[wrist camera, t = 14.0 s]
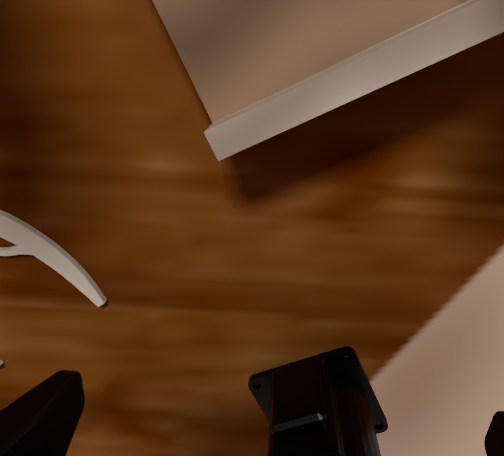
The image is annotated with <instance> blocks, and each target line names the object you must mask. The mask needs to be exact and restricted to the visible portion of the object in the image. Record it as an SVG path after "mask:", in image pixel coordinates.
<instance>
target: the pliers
mask: <svg viewBox="0 0 504 456" xmlns="http://www.w3.org/2000/svg"><path fill="white" fill-rule="evenodd" d="M0 237H1V238H3V239H5V240H7V241H9V242H11V243H13V244H15V245H14V246H12V247H0V256H13V255H20V254H26V255H34V256H35V257H37V258H38V259H40V260H41V261H42V262H44V263H45V264H47V265H48V266H50V267H51V268H53V269H54V270H55V271H57V272H58V273H60V274H61V275H62V276H63V277H64V278H66V279H67V280H68V281H69V282H70V283H72V284H73V285H74V286H75V287H76V288H77V289H79V290H80V291H81V292H82V293H83V294H85V295H86V296H87V297H88V298H89V299H90V300H91V301H92V302H93V303H94V304H95V305H96V306H98V307H99V306H101V305H103V304H104V303H105V302H106V301H107V299H106V298H105V296H104V295H103V293H102V292H101V290H100V289H99V287H98V286H97V285H96V283H95V282H94V281H93V279H92V278H91V277H90V276H89V274H88V273H87V272H86V271H85V270H84V269H83V268H82V267H81V265H80V264H79V263H78V262H77V261H76V260H75V259H74V258H73V257H72V256H70V255H69V254H68V253H67V252H66V251H65V250H64V249H63V248H62V247H60V246H59V245H58V244H57V243H55V242H54V241H53V240H51V239H50V238H48V237H47V236H46V235H44V234H43V233H41V232H40V231H38V230H37V229H35V228H34V227H32V226H31V225H29V224H28V223H26V222H24V221H22V220H20V219H18V218H17V217H15V216H13V215H11V214H9V213H7V212H4V211H2V210H0ZM2 363H3V362H2V360H1V359H0V366H1V364H2Z"/></svg>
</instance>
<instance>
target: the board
mask: <svg viewBox="0 0 504 456" xmlns="http://www.w3.org/2000/svg"><path fill="white" fill-rule="evenodd" d="M152 1H153V3H154V5H155V7H156V9H157V11H158V13H159V15H160V17H161V19H162V21H163V23H164V25H165V27H166V29H167V31H168V33H169V35H170V38H171V40H172V42H173V44H174V46H175V48H176V50H177V52H178V54H179V56H180V58H181V60H182V62H183V64H184V66H185V68H186V70H187V72H188V74H189V76H190V78H191V80H192V82H193V84H194V86H195V88H196V90H197V92H198V94H199V96H200V99H201V101H202V103H203V105H204V107H205V109H206V111H207V113H208V115H209V117H210V119H211V121H212V124H211V125H210V126H209V127H208V128H207V129H206V130H205V131H204V134H205V136H206V138H207V140H208V142H209V144H210V146H211V147H212V149H213V151H214V153H215V155H216V157H217V159H218V161H220V160H222V159H224V158H226V157H229V156H231V155H233V154H235V153H237V152H240V151H242V150H244V149H246V148H249V147H251V146H253V145H255V144H257V143H260V142H262V141H264V140H266V139H268V138H271V137H273V136H275V135H277V134H279V133H282V132H284V131H286V130H288V129H290V128H293V127H295V126H297V125H299V124H301V123H304V122H306V121H308V120H310V119H313V118H315V117H317V116H319V115H321V114H324V113H326V112H328V111H330V110H332V109H335V108H337V107H339V106H341V105H343V104H346V103H348V102H350V101H352V100H354V99H357V98H359V97H361V96H363V95H365V94H368V93H370V92H372V91H374V90H376V89H379V88H381V87H383V86H385V85H388V84H390V83H392V82H394V81H396V80H399V79H401V78H403V77H405V76H407V75H410V74H412V73H414V72H416V71H418V70H421V69H423V68H425V67H427V66H429V65H432V64H434V63H436V62H438V61H440V60H443V59H445V58H447V57H449V56H452V55H454V54H456V53H458V52H460V51H463V50H465V49H467V48H469V47H471V46H474V45H476V44H478V43H480V42H482V41H485V40H487V39H489V38H491V37H493V36H496V35H498V34H500V33H502V32H504V0H152Z"/></svg>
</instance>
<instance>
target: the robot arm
mask: <svg viewBox="0 0 504 456" xmlns="http://www.w3.org/2000/svg"><path fill="white" fill-rule="evenodd" d="M345 355H350V356H349V357H343V356H345ZM255 382H258V383H260V384H255ZM248 386H249V389H250V391H251V392H252V394H253V396H254V397H255V399H256V401H257V402H258V404H259V406H260V407H261V409H262V411H263V412H264V414H265V416H266V417H267V419H268V421H269V422H270V423H269V446H268V456H381V455H380V450H379V446H378V442H377V437H376V434H377V433H381V432H384V431H385V430H387V428H388V424H387V421H386V418H385V415H384V413H383V411H382V409H381V407H380V405H379V402H378V400H377V398H376V396H375V394H374V391H373V389H372V387H371V385H370V383H369V381H368V378H367V376H366V374H365V372H364V370H363V368H362V365H361V363H360V361H359V359H358V357H357V354H356V352H355V350H354V349H353V348H351V347H341V348H338V349H335V350H332V351H328V352H325V353H322V354H319V355H315V356H312V357H309V358H306V359H302V360H299V361H296V362H293V363H289V364H286V365H283V366H280V367H276V368H273V369H270V370H267V371H263V372H260V373H257V374H254V375H252V376H250V378H249V383H248ZM84 403H85V397H84V390H83V384H82V378H81V374H80V373H79V372H77V371H70V370H60V371H58V372H56V373H55V374H53V375H52V376H50V377H49V378H47V379H46V380H44V381H43V382H41V383H40V384H38V385H37V386H35V387H34V388H32V389H31V390H30V391H28V392H27V393H25V394H24V395H22V396H21V397H19V398H18V399H16V400H15V401H13V402H12V403H10V404H9V405H7V406H6V407H4V408H3V409H1V410H0V456H65V455H66V453H67V450H68V448H69V445H70V442H71V440H72V437H73V435H74V432H75V429H76V427H77V424H78V422H79V419H80V416H81V414H82V411H83V408H84ZM485 450H486V453H487V456H504V411H498V412H496V413H495V414H494V416H493V419H492V421H491V424H490V426H489V429H488V432H487V434H486V437H485Z"/></svg>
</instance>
